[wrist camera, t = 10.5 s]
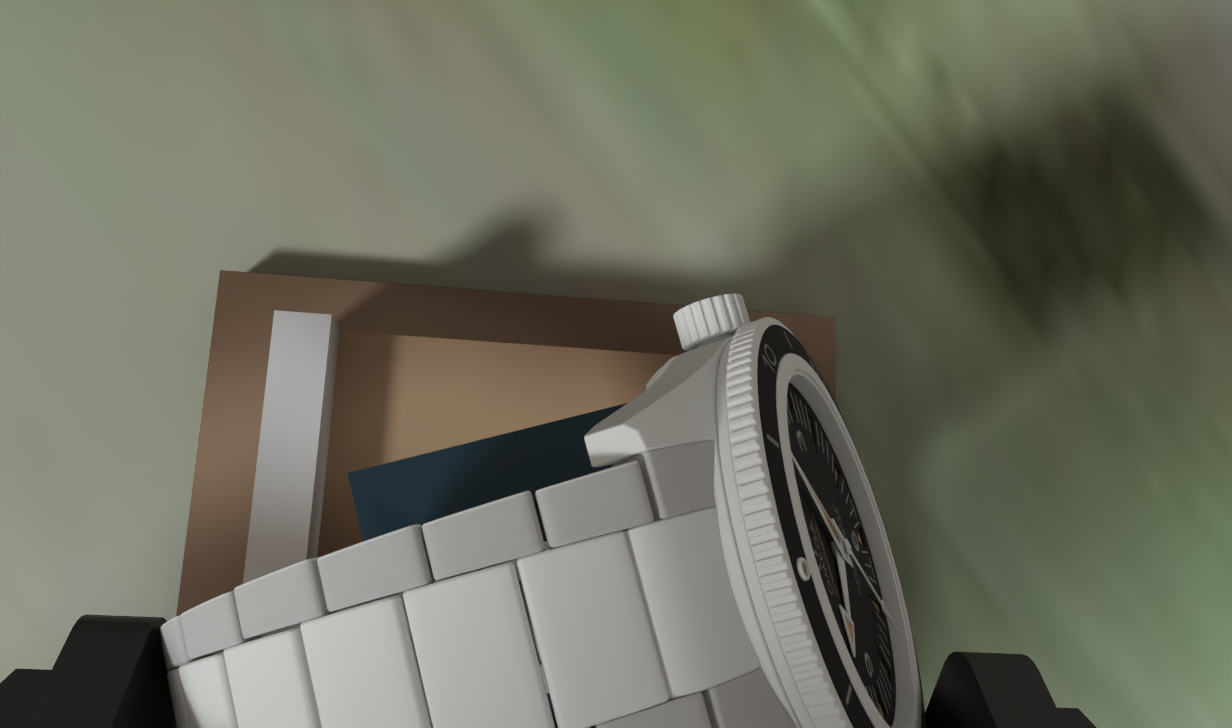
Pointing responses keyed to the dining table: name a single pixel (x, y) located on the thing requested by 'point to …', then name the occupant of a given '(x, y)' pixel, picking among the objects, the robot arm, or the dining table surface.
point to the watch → (591, 573)
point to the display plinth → (392, 319)
